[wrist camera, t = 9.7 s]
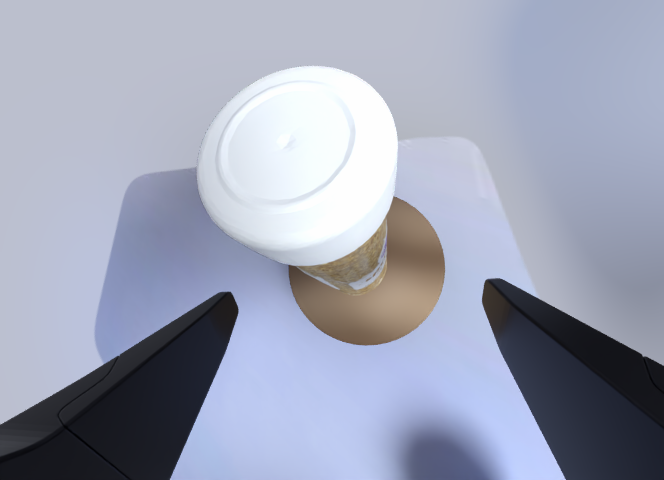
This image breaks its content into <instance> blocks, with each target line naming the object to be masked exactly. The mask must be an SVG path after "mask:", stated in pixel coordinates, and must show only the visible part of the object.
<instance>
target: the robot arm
mask: <svg viewBox="0 0 664 480" xmlns="http://www.w3.org/2000/svg"><path fill="white" fill-rule="evenodd" d="M482 304H483V307H484V310H485V312H486V315H487V318H488V320H489V323H490V326H491V328H492V331H493V334H494V336H495V339H496V342H497V344H498V347H499V349H500V351H501V353H502V355H503V358H504V359H505V361H506V363H507V365H508V367H509V369H510V371H511V373H512V375H513V377H514V379H515V381H516V383H517V385H518V387H519V389H520V391H521V393H522V395H523V397H524V399H525V401H526V402H527V404H528V406H529V408H530V410H531V412H532V414H533V416H534V418H535V420H536V422H537V424H538V426H539V428H540V430H541V432H542V434H543V436H544V438H545V440H546V442H547V444H548V445H549V447H550V449H551V451H552V453H553V455H554V457H555V459H556V461H557V463H558V465H559V467H560V469H561V471H562V473H563V475H564V477H565V479H566V480H664V366H663V365H661V364H659V363H657V362H656V361H654V360H651V359H650V358H648V357H643V356H642V354H640V353H639V352H637V351H635V350H633V349H631V348H629V347H627V346H626V345H624V344H622V343H620V342H618V341H616V340H614V339H613V338H611V337H609V336H607V335H605V334H603V333H601V332H600V331H598V330H596V329H594V328H592V327H590V326H588V325H586V324H585V323H583V322H581V321H579V320H577V319H575V318H574V317H572V316H570V315H568V314H566V313H564V312H562V311H560V310H559V309H557V308H555V307H553V306H551V305H549V304H547V303H546V302H544V301H542V300H540V299H538V298H536V297H534V296H533V295H531V294H529V293H527V292H525V291H523V290H521V289H520V288H518V287H516V286H514V285H512V284H510V283H508V282H507V281H505V280H503V279H500V278H495V279H487V280H486V281H485V283H484V290H483V296H482ZM237 316H238V306H237V304H236V301H235V299H234V297H233V295H232V293H231V292H219V293H217V294H216V295H214V296H213V297H211V298H209V299H208V300H206V301H205V302H203V303H201V304H200V305H198V306H197V307H195V308H194V309H192V310H190V311H189V312H187V313H186V314H184V315H182V316H181V317H179V318H178V319H176V320H174V321H173V322H171V323H170V324H168V325H166V326H165V327H163V328H162V329H160V330H158V331H157V332H155V333H154V334H152V335H150V336H149V337H147V338H146V339H144V340H142V341H141V342H139V343H138V344H136V345H134V346H133V347H131V348H130V349H128V350H126V351H125V352H123V353H122V354H120V356H117V357H115V358H114V359H112V360H110V361H109V362H107V363H106V364H104V365H102V366H101V367H99V368H97V369H96V370H94V371H93V372H91V373H89V374H88V375H86V376H85V377H83V378H81V379H80V380H78V381H76V382H74V383H72V384H71V385H69V386H67V387H66V388H64V389H62V390H60V391H59V392H57V393H55V394H53V395H52V396H50V397H48V398H47V399H45V400H43V401H41V402H39V403H38V404H36V405H34V406H32V407H31V408H29V409H27V410H26V411H24V412H22V413H20V414H19V415H17V416H15V417H13V418H11V419H10V420H8V421H6V422H4V423H3V424H1V425H0V480H170V478H171V476H172V473H173V471H174V469H175V467H176V464H177V462H178V460H179V457H180V455H181V453H182V451H183V448H184V446H185V444H186V441H187V439H188V437H189V435H190V432H191V430H192V428H193V425H194V423H195V421H196V418H197V416H198V414H199V412H200V409H201V407H202V405H203V402H204V400H205V398H206V396H207V393H208V391H209V389H210V386H211V384H212V382H213V380H214V377H215V375H216V373H217V370H218V368H219V366H220V364H221V361H222V359H223V357H224V354H225V352H226V349H227V346H228V343H229V340H230V337H231V334H232V331H233V328H234V325H235V322H236V319H237Z"/></svg>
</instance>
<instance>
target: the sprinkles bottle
mask: <svg viewBox="0 0 664 480" xmlns="http://www.w3.org/2000/svg"><path fill="white" fill-rule="evenodd" d="M397 152H398V143H397V133H396V128H395V124H394V121H393V117H392V115H391V112H390V110H389V108H388V106H387V105H386V103H385V102H384V100H383V99H382V97H381V96H380V95H379V94H378V93H377V92H376V91H375V90H374V89H373V88H372V87H371V86H370V85H369V84H368V83H366V82H365V81H364V80H362V79H360V78H359V77H357V76H355V75H353V74H351V73H348V72H346V71H343V70H339V69H336V68H331V67H323V66H302V67H295V68H290V69H285V70H282V71H278V72H275V73H272V74H269V75H267V76H265V77H263V78H261V79H259V80H257V81H255V82H254V83H252V84H250V85H249V86H247V87H246V88H244V89H243V90H242V91H240V92H239V93H238V94H236V95H235V96H234V97H233V98H232V99H231V100H230V101H229V102H228V103H227V104H226V105H225V106H224V107H223V108H222V109H221V110H220V112H219V113H218V114H217V116H216V117H215V118H214V120H213V121H212V123H211V125H210V126H209V128H208V130H207V132H206V134H205V136H204V138H203V141H202V143H201V147H200V150H199V154H198V159H197V170H196V178H197V186H198V191H199V195H200V198H201V201H202V203H203V206H204V207H205V209H206V211H207V213H208V214H209V216H210V217H211V219H212V220H213V221H214V223H215V224H216V225H217V226H218V227H219V228H220V229H221V230H222V231H223V232H225V233H226V234H227V235H228V236H230V237H231V238H232V239H234V240H236V241H237V242H239V243H241V244H243V245H244V246H246V247H248V248H250V249H251V250H253V251H255V252H257V253H259V254H261V255H263V256H265V257H267V258H269V259H272V260H274V261H277V262H280V263H283V264H287V265H293V266H296V267H297V268H299V269H300V270H301V271H303V272H304V273H306V274H307V275H309V276H311V277H313V278H315V279H317V280H319V281H321V282H323V283H325V284H327V285H329V286H331V287H333V288H335V289H337V290H338V291H340V292H341V293H344V294H347V295H353V296H357V295H362V294H366V293H368V292H370V291H372V290H373V289H375V288H376V287H377V286H378V285H379V284H380V283H381V281H382V280H383V278H384V276H385V273H386V270H387V257H386V255H387V220H386V215H387V213H388V211H389V209H390V206H391V203H392V200H393V195H394V190H395V181H396V171H397Z"/></svg>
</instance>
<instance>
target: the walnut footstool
mask: <svg viewBox="0 0 664 480" xmlns="http://www.w3.org/2000/svg"><path fill="white" fill-rule="evenodd" d="M386 220H387V255H386V257H387V270H386V273H385V276H384V278H383V280H382V281H381V283H380V284H379V285H378V286H377V287H376V288H375V289H373V290H372V291H370V292H368V293H366V294H362V295H357V296H353V295H347V294H344V293H341V292H340V291H338V290H337V289H335V288H333V287H331V286H329V285H327V284H325V283H323V282H321V281H319V280H317V279H315V278H313V277H311V276H309V275H307V274H306V273H304V272H303V271H301V270H300V269H299V268H297V267H296V266H293V265H289V278H290V285H291V288H292V292H293V295H294V297H295V299H296V302H297V304H298V305H299V307H300V309H301V311H302V312H303V313H304V314H305V316H306V317H307V318H308V319H309V320H310V321H311V322H312V323H313V324H314V325H315V326H316V327H317V328H318V329H320V330H321V331H322V332H324V333H325V334H327V335H329V336H331V337H333V338H335V339H337V340H340V341H343V342H346V343H351V344H356V345H378V344H383V343H388V342H391V341H394V340H397V339H399V338H401V337H403V336H405V335H407V334H409V333H410V332H411V331H413V330H414V329H416V328H417V327H418V326H419V325H420V324H421V323H422V322H423V321H424V320H425V319H426V318H427V317H428V316H429V314H430V313H431V312H432V310H433V308H434V307H435V305H436V303H437V301H438V299H439V296H440V294H441V291H442V287H443V283H444V275H445V261H444V255H443V249H442V246H441V243H440V241H439V238H438V236H437V234H436V232H435V230H434V229H433V227H432V226H431V224H430V223H429V221H428V220H427V219H426V218H425V217H424V216H423V215H422V214H421V213H420V212H419V211H418V210H417V209H415V208H414V207H413V206H411V205H410V204H408V203H407V202H405V201H403V200H401V199H399V198H397V197H394V196H393V200H392V203H391V206H390V209H389V211H388V213H387V215H386Z"/></svg>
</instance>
